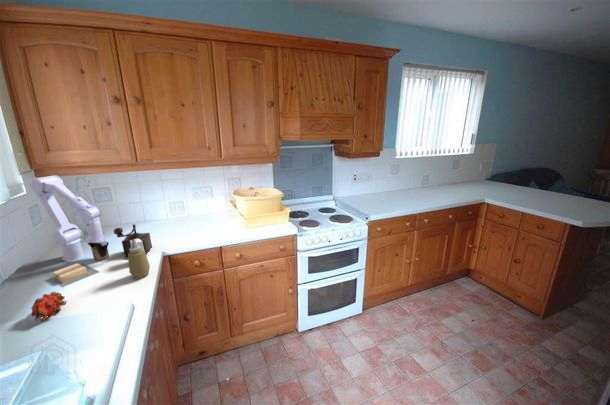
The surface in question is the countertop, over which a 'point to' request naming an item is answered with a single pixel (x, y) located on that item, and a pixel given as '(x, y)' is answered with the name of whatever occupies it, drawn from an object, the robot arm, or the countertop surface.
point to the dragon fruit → (48, 305)
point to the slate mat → (89, 271)
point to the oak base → (70, 273)
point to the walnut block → (97, 255)
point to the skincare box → (138, 243)
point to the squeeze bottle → (138, 261)
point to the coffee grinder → (126, 242)
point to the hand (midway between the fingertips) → (100, 255)
